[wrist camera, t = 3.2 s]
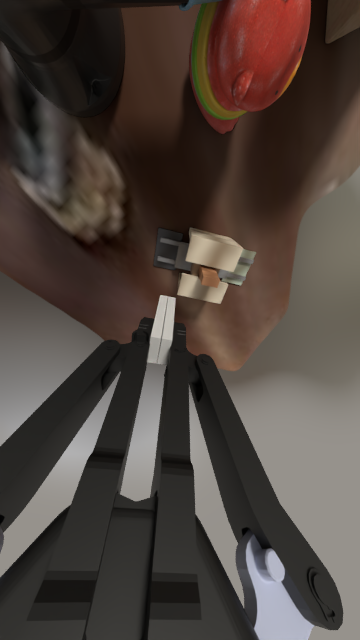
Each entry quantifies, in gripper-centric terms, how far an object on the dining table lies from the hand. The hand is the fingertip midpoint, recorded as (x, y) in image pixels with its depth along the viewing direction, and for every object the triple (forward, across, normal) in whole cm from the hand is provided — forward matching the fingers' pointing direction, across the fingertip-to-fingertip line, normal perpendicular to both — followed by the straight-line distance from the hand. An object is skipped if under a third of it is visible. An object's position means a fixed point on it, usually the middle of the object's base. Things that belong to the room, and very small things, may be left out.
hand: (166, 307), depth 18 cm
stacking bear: (+23, +2, +25) cm, 34 cm away
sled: (+23, +7, 0) cm, 24 cm away
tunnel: (+25, +7, 0) cm, 25 cm away
